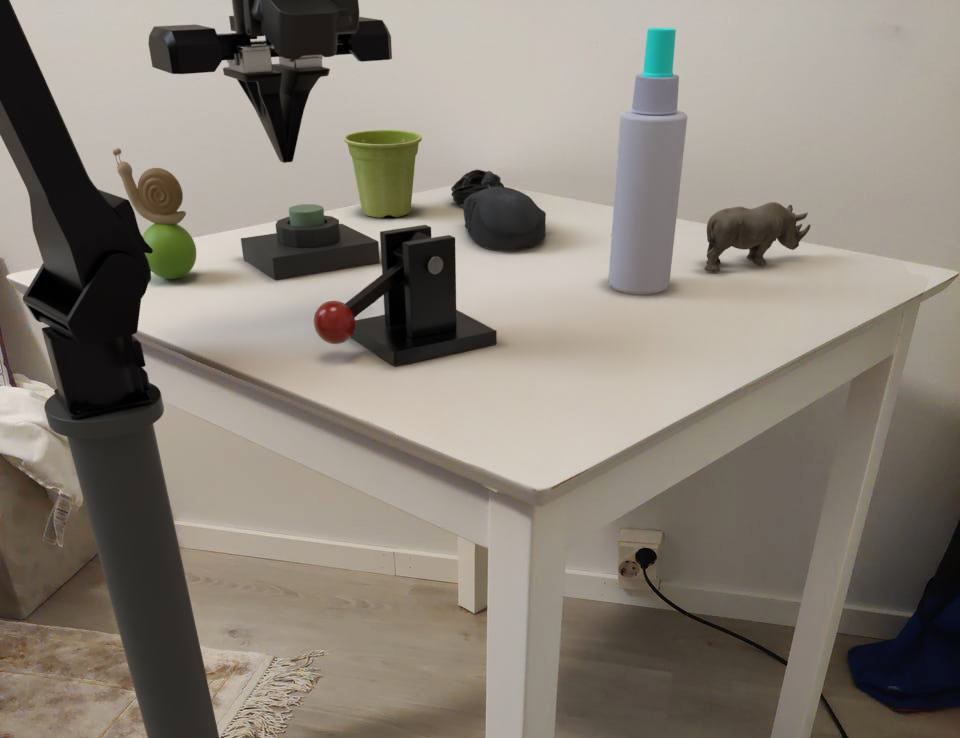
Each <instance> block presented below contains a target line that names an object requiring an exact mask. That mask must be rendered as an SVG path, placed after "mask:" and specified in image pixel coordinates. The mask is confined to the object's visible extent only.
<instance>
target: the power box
mask: <svg viewBox="0 0 960 738" xmlns="http://www.w3.org/2000/svg"><path fill="white" fill-rule="evenodd" d="M324 220H325V224H323V225H320V226H313V227H296V226H291V225H290V216H286V217H284V218H280V219H278V220H276V222H275V232H274V233H269V234H262V235H261V234H260V235H254V236H253V235H252V236H247V237H241V238H240V244H241V251H242V258H243V260H244V261H245V262H247V263H248V264H250V265H252V266H253V267H255V268H256V269H257V270H259V271H261V272H262V273H264V274H265V275H267V276H268V277H271V279H273V280H275V281H276V280H282V279H289V278H295V277H301V276H306V275H312V274H319V273H325V272H330V271H331V272H332V271H337V270H343V269H350V268H355V267H362V266H368V265H375V264H378V263H380V262H381V261H380V246H379V245H380V244H379V241H378V240H377V239H375V238H372V237H370V236H368V235H366V234H364V233H362V232H361V231H359V230H356V229H354V228H353V227H350V226H347V225H346V224H343V223H340V219H338V218H336V217H334V216H331V215H325V214H324Z"/></svg>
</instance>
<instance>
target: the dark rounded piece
mask: <svg viewBox="0 0 960 738" xmlns="http://www.w3.org/2000/svg"><path fill="white" fill-rule="evenodd" d="M450 190H451V197H452V200H453V201H454V203H456V204H459V205H462V206H463V218H464V227H465V229H466V231H467V233H468V236H469V237H470V238H471V240H472V241H473V242H474V243H475V244H476V245H478V246H479V247H482V248H484V249H489V250H494V251H519V250H527V249H531V248H535V247H537V246H538V245H540V244H541V243H543V241H544V239H545V238H546V227H547V226H546V221H547V220H546V219H547V218H546V216H547V214H546V211H545V210H543V209H541V208H540V207H539V206H538V205H537V203H535V202H534V200H533V199H532V198H531V197H530V196H529V195H527V194H526V193H523V192H521V191H520V190H517V189H515V188H511V187H507V186H505V185H504V184H503V183H502V181H501V176H499V175H497V174H495V173H494V172H492V171H490V170H487V171H486V170H482V169H473V170H471V171H469V172H466V173H465V174H464V175H462V177H460V178H459V179H458V180H457V181H456V182H455V183H454V184H453V185H452V186H451V188H450Z"/></svg>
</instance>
